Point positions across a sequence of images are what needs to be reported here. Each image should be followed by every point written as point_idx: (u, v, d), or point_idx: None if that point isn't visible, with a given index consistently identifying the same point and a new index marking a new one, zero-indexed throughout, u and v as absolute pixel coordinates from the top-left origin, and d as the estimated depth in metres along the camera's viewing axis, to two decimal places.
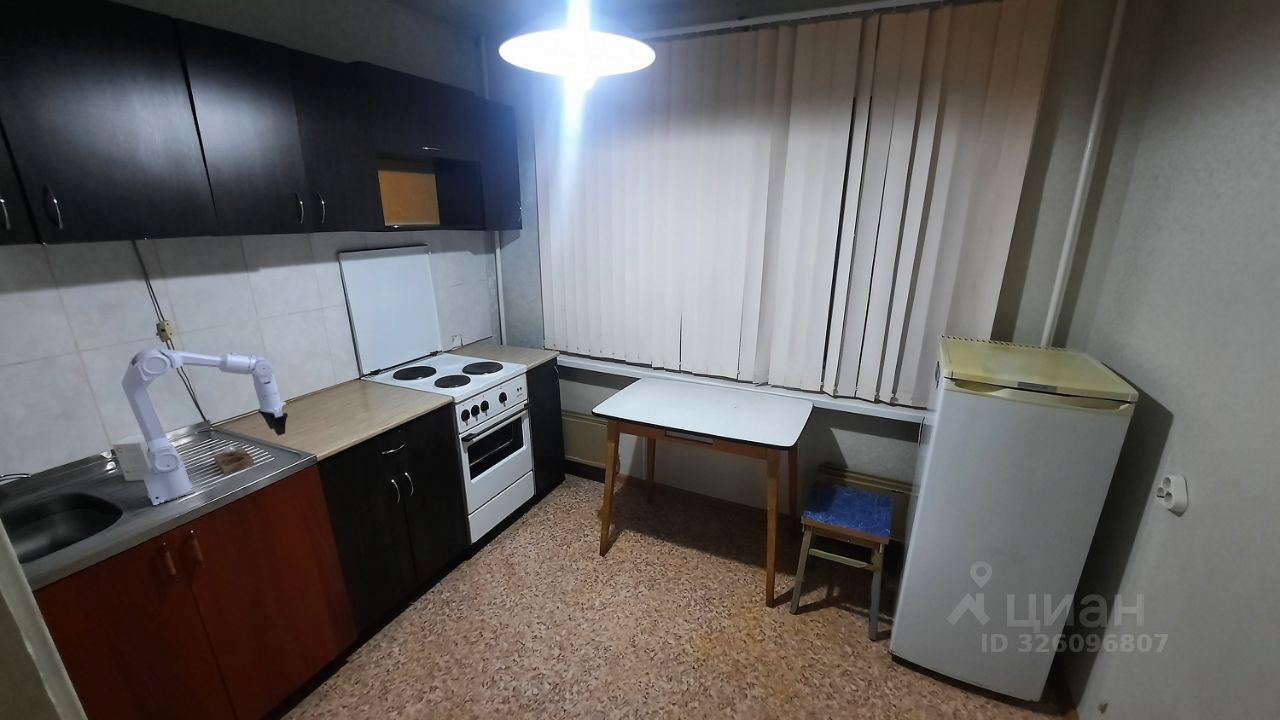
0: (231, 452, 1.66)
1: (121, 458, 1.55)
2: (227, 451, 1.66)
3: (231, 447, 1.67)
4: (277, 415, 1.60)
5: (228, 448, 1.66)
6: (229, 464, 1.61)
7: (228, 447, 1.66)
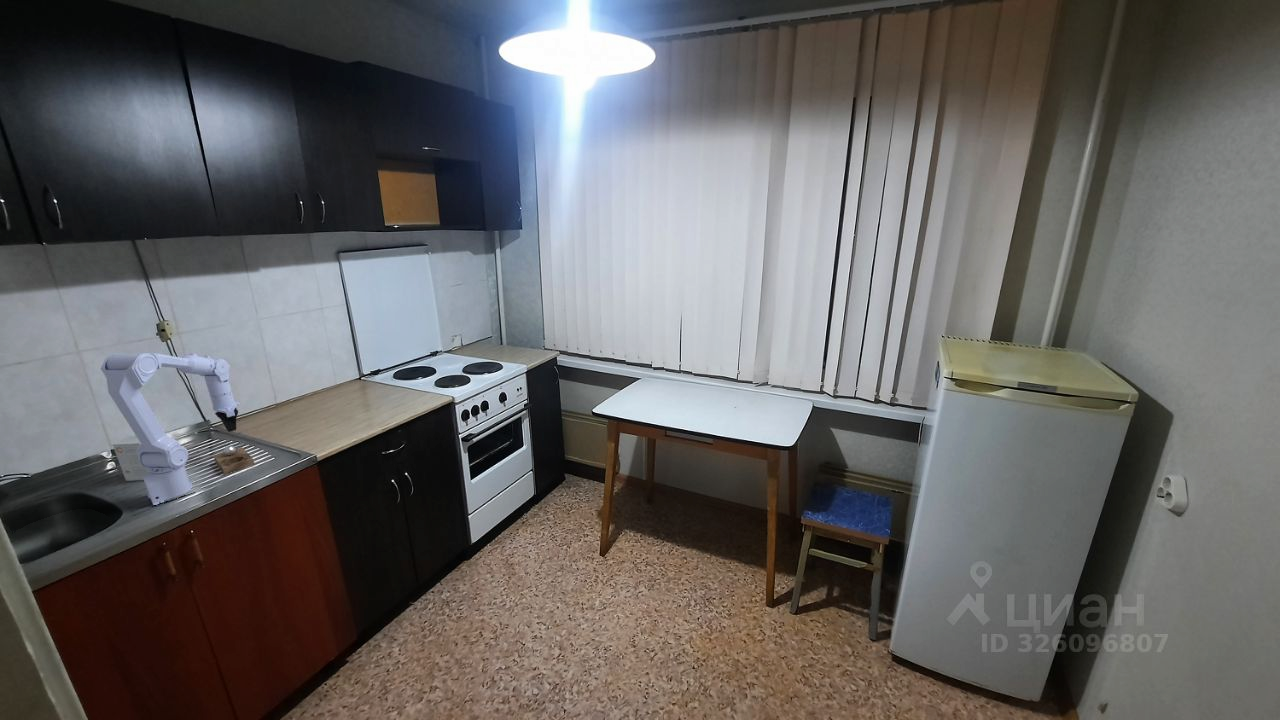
0: (231, 452, 1.66)
1: (121, 458, 1.55)
2: (227, 451, 1.66)
3: (231, 447, 1.67)
4: (229, 415, 1.62)
5: (228, 448, 1.66)
6: (229, 464, 1.61)
7: (228, 447, 1.66)
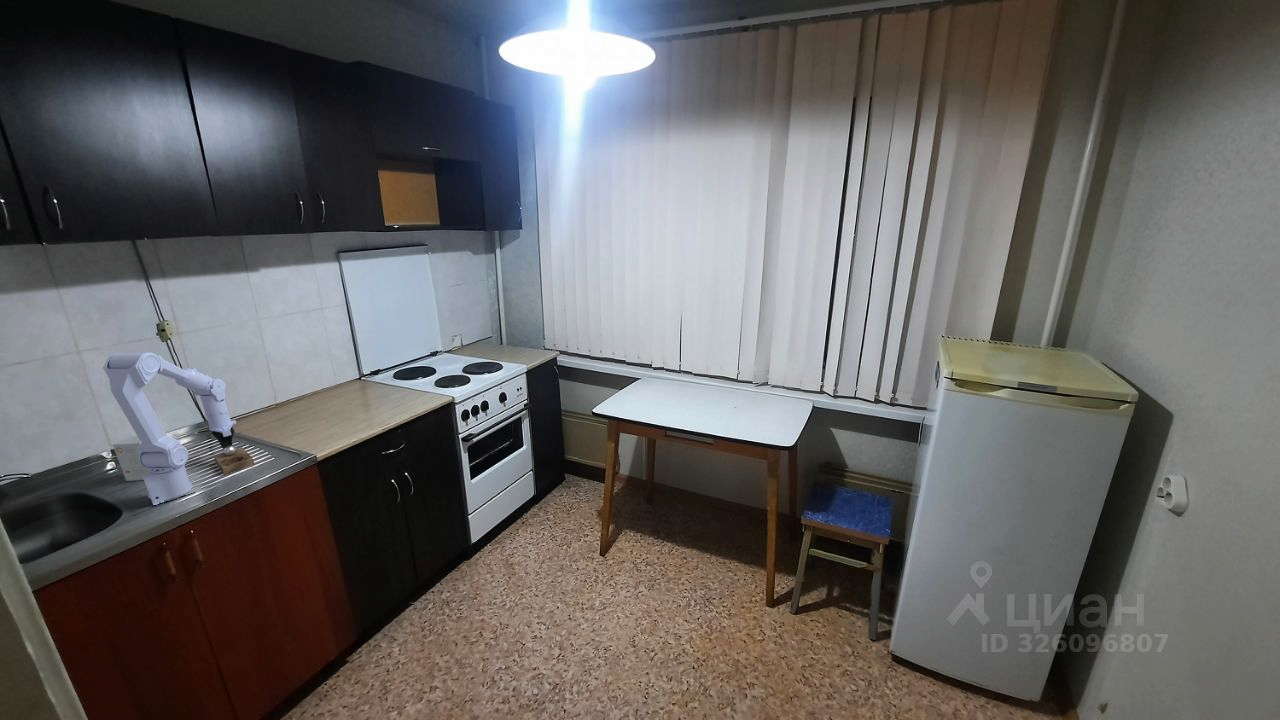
0: (231, 452, 1.66)
1: (121, 458, 1.55)
2: (227, 451, 1.66)
3: (231, 447, 1.67)
4: (225, 435, 1.62)
5: (228, 448, 1.66)
6: (229, 464, 1.61)
7: (228, 447, 1.66)
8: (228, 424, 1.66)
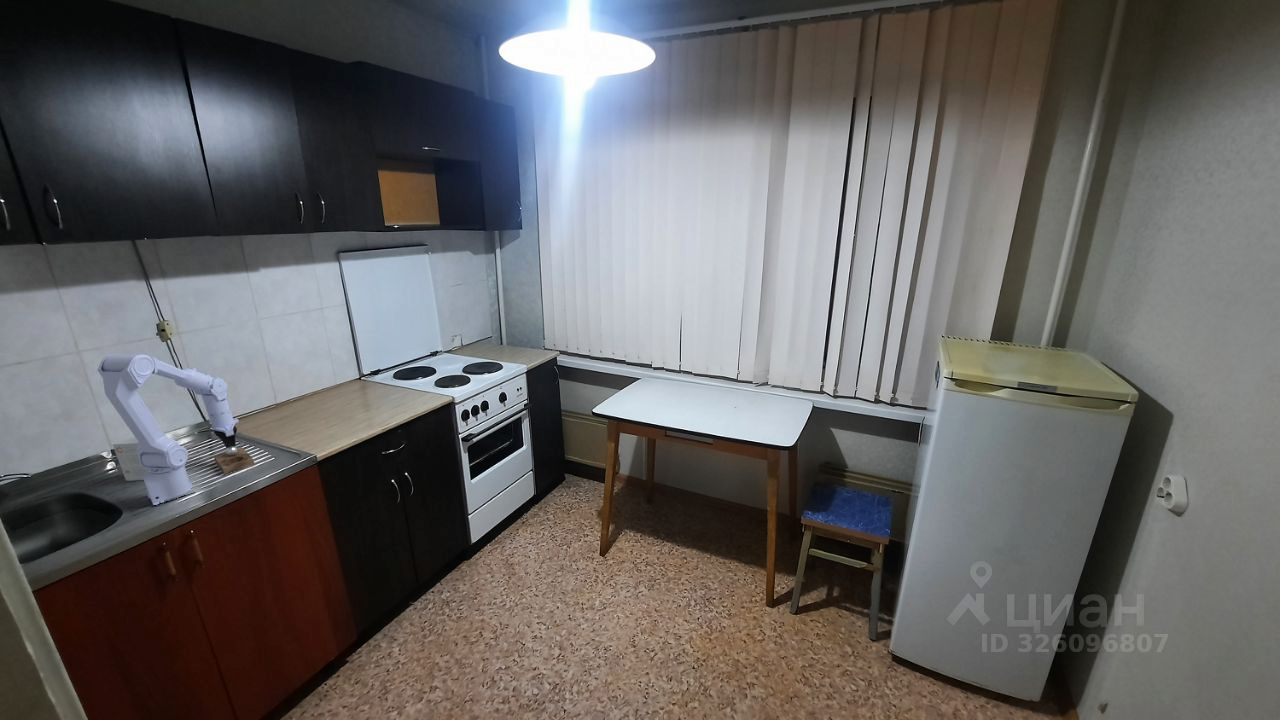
0: (232, 455, 1.66)
1: (121, 458, 1.55)
2: (229, 453, 1.66)
3: (234, 450, 1.66)
4: (228, 434, 1.61)
5: (231, 451, 1.66)
6: (229, 464, 1.61)
7: (232, 450, 1.66)
8: (231, 423, 1.65)
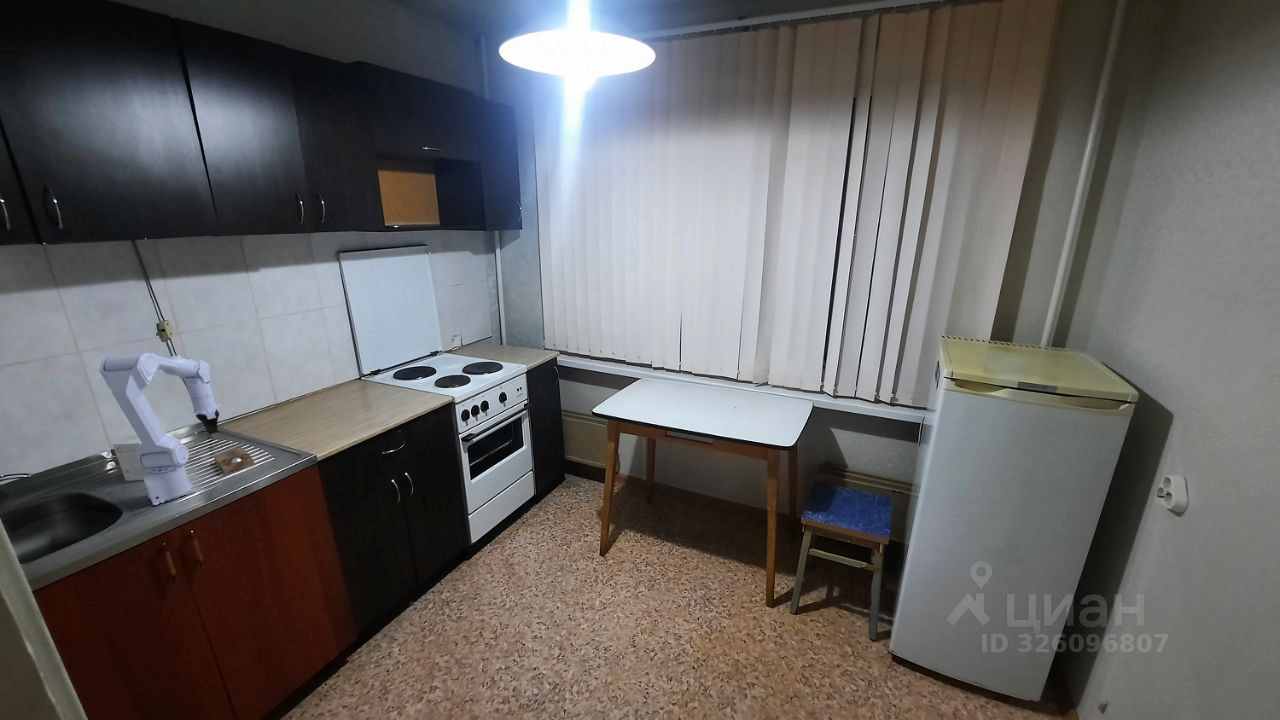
0: None
1: (121, 458, 1.55)
2: None
3: None
4: (210, 417, 1.61)
5: None
6: (229, 464, 1.61)
7: None
8: (213, 407, 1.65)
